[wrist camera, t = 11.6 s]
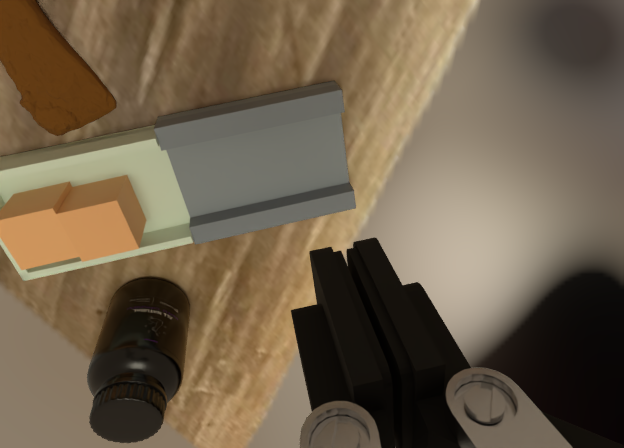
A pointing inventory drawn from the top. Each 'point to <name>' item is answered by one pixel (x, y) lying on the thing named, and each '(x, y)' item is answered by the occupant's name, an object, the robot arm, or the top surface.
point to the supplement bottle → (138, 360)
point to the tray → (100, 166)
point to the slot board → (259, 160)
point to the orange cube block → (36, 227)
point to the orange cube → (103, 218)
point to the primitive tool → (49, 70)
